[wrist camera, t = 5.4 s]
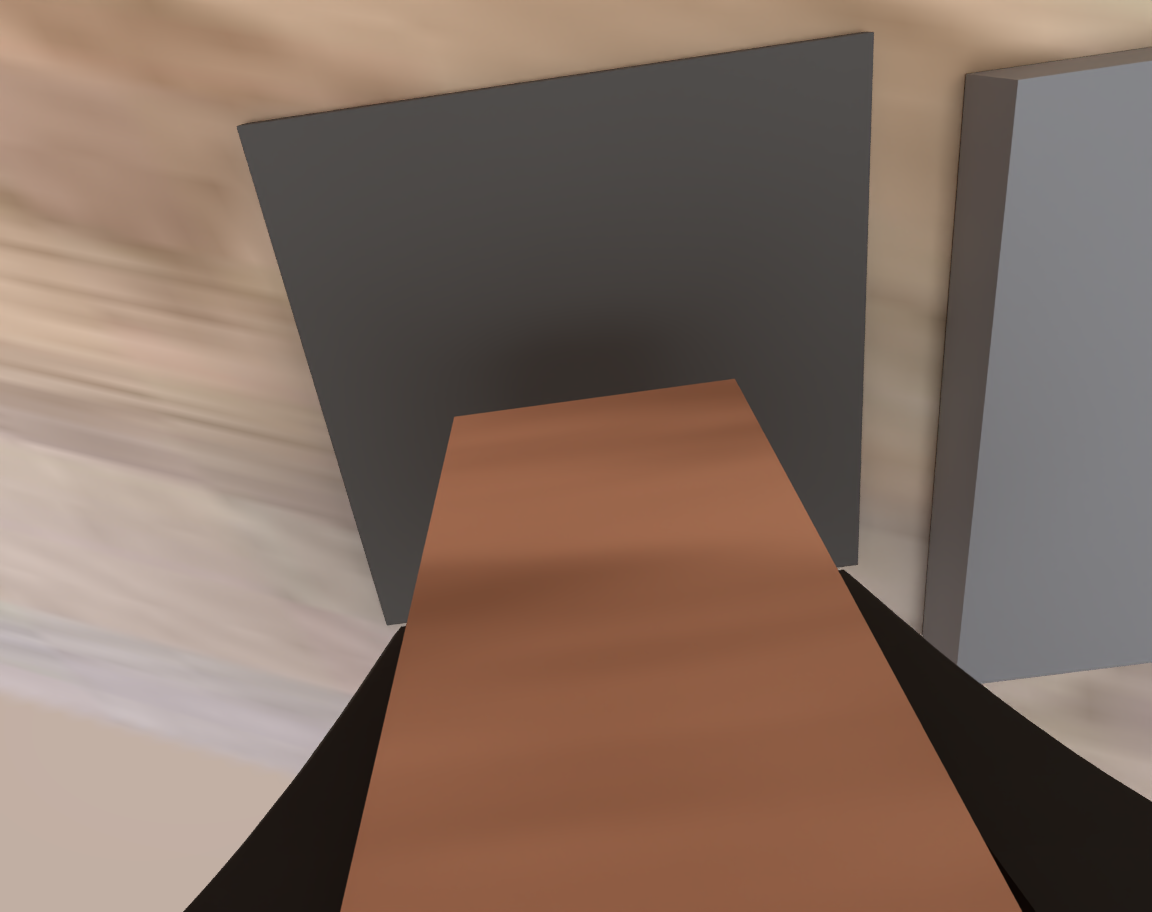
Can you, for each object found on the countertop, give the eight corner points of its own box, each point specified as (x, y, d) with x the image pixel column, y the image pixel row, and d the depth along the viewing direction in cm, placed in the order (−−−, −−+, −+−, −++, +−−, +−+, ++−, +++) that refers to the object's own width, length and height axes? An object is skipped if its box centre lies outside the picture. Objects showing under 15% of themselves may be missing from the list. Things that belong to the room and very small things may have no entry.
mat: (851, 553, 21) (857, 564, 21) (390, 613, 22) (387, 625, 21) (864, 31, 16) (874, 31, 15) (244, 123, 16) (236, 126, 16)
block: (745, 605, 14) (968, 1246, 6) (502, 635, 14) (457, 1299, 7) (734, 378, 12) (1029, 928, 5) (454, 417, 12) (318, 1006, 5)
